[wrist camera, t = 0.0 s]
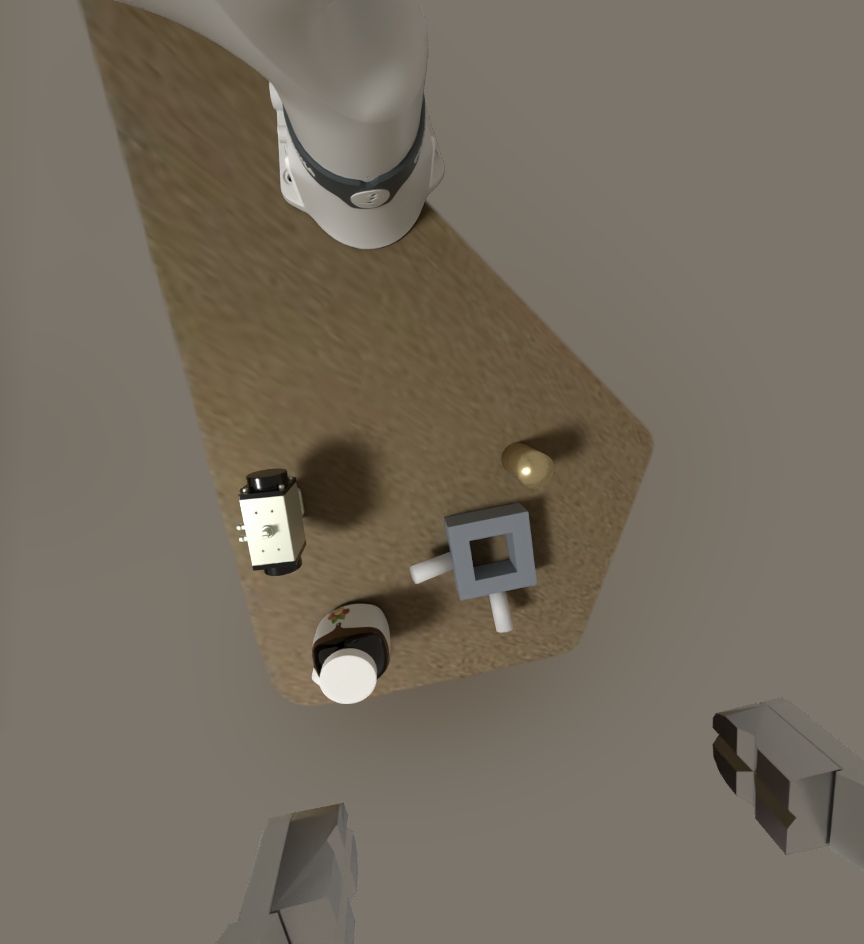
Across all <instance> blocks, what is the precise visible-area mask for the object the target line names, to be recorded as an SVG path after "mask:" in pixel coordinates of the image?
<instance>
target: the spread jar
mask: <svg viewBox="0 0 864 944" xmlns="http://www.w3.org/2000/svg"><path fill="white" fill-rule="evenodd" d="M390 650H391V649H390V631H389V626H388V623H387V620H386V618H385V615H384V614H383V612H382V610H381V609H380V608H378V607H377V606H375V605H373V604H369V603H364V602H354V603H348V604H345V605H343V606H340V607H338V608H336V609H335V610H333V611H331V612H330V613H329V614H327V615H326V616H325V617H324V618H323V619H322V620H321V622H320V623H319V625H318V627H317V630H316V633H315V637H314V641H313V646H312V658H313V664H314V669H313V673H312V679H313V681H314V682H315V683H317V684H318V685H320V687H321V689H322V691H323V693H324V694H325V695H326V696H327V697H328V698H329V699H331V700H333V701H335V702H338V703H343V704H350V703H356V702H359V701H361V700H363V699H365V698H366V697H368V696H369V695H370V694H371V693H372V691H373V690H374V688H375V685H376V680H377V679H378V678H379V677H381V676H382V675H383V673H384V672H385V671H386V669H387V667H388V665H389V661H390Z"/></svg>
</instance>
